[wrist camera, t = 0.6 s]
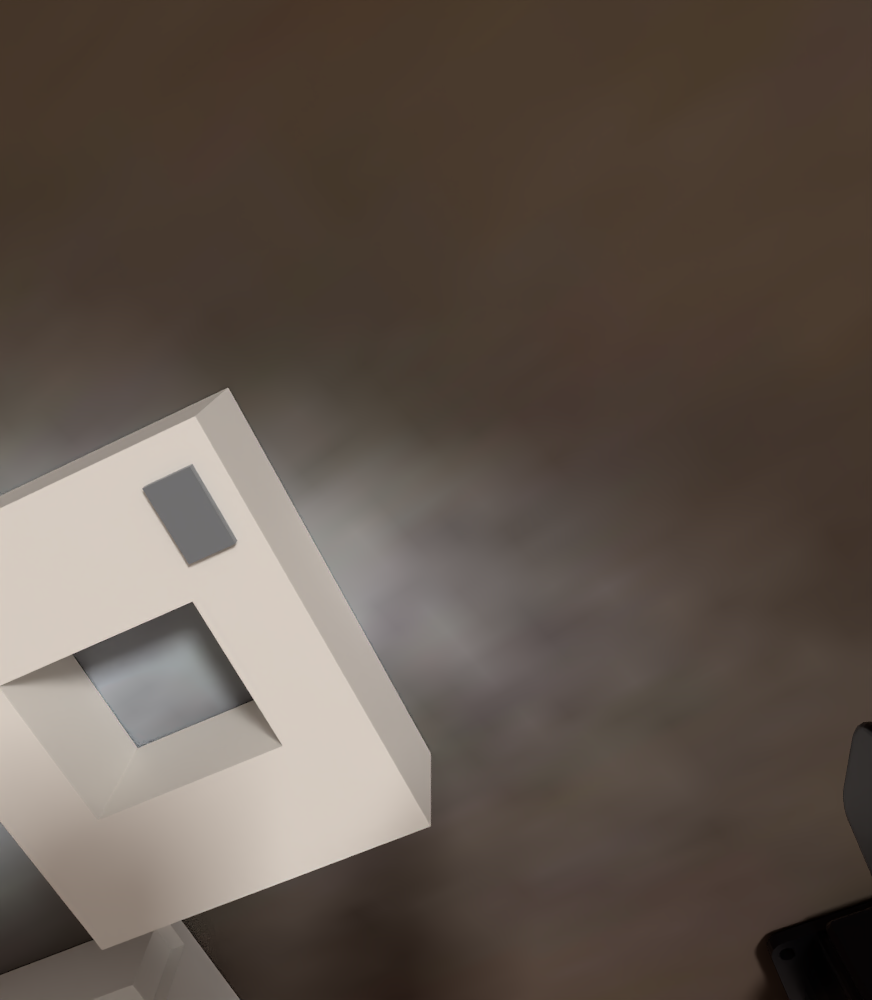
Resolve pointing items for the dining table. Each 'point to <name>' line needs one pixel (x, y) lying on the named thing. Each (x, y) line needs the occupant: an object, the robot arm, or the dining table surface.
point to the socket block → (213, 742)
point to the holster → (123, 971)
